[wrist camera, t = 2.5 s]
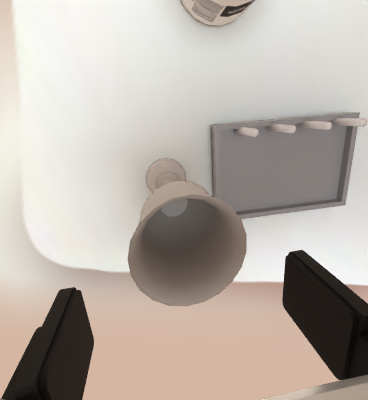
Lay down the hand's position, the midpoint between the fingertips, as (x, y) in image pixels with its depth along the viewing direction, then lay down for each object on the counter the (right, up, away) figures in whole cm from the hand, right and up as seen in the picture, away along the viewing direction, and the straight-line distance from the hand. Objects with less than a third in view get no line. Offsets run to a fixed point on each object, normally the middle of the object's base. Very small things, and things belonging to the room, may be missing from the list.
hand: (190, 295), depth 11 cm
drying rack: (+12, +9, +21) cm, 26 cm away
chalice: (-3, +7, +20) cm, 21 cm away
